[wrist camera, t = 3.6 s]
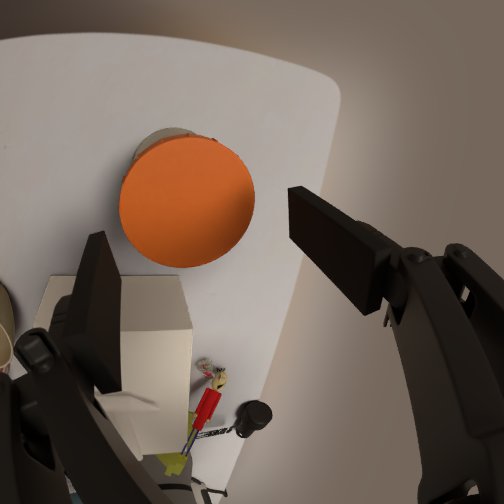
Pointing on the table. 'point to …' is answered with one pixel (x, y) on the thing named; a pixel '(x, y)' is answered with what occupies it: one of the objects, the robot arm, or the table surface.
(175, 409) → the hammer relief block
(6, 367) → the pill bottle
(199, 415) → the figurine
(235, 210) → the lid
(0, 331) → the flower pot
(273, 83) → the table surface
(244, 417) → the flashlight
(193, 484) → the speaker
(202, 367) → the figurine
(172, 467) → the bracket
